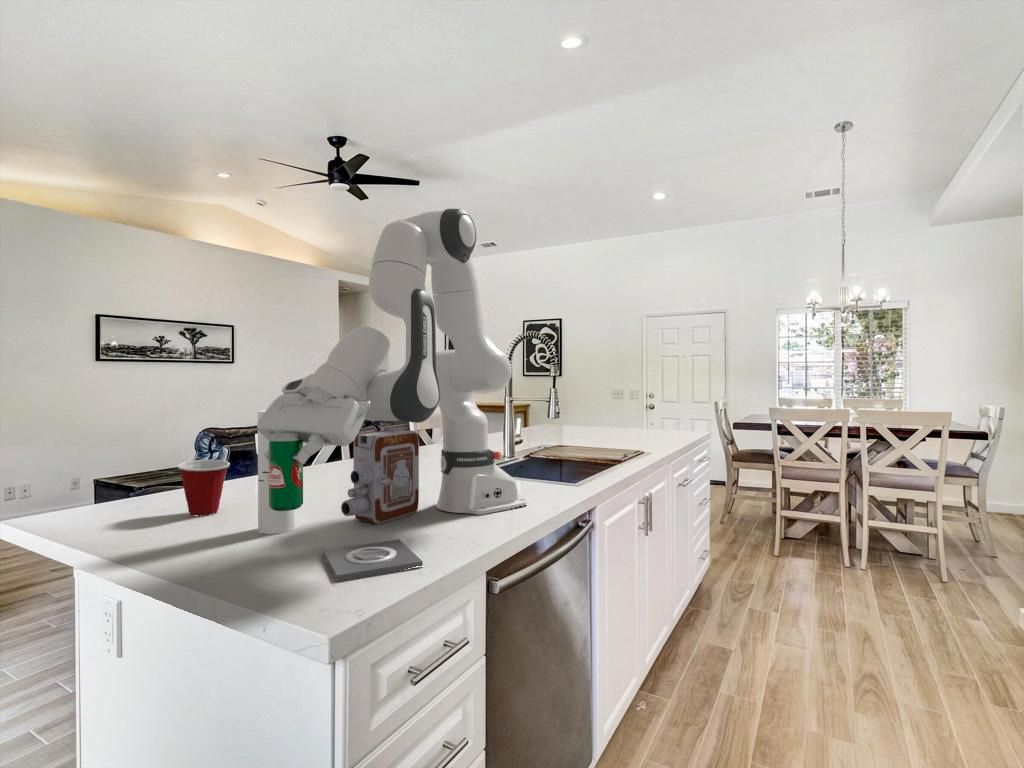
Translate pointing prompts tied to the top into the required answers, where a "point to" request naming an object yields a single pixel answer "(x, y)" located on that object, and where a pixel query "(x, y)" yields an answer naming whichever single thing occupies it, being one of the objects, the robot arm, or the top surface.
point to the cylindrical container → (267, 517)
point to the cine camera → (384, 476)
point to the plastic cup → (203, 484)
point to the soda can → (285, 472)
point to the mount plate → (370, 559)
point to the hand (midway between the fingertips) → (283, 459)
